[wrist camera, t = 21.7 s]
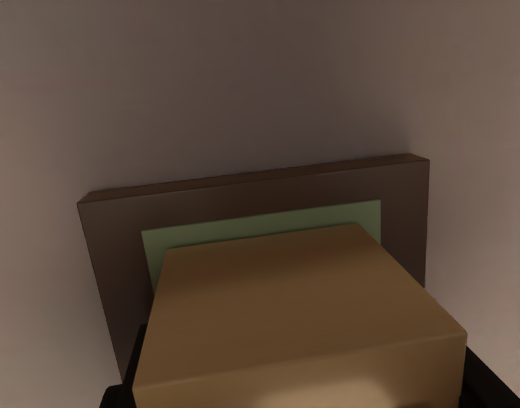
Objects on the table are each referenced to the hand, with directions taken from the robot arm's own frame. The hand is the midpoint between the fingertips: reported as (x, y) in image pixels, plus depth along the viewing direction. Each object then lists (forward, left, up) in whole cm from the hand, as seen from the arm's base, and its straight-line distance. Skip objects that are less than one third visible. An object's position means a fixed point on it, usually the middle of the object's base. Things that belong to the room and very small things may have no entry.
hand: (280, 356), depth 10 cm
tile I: (0, 0, -1) cm, 1 cm away
